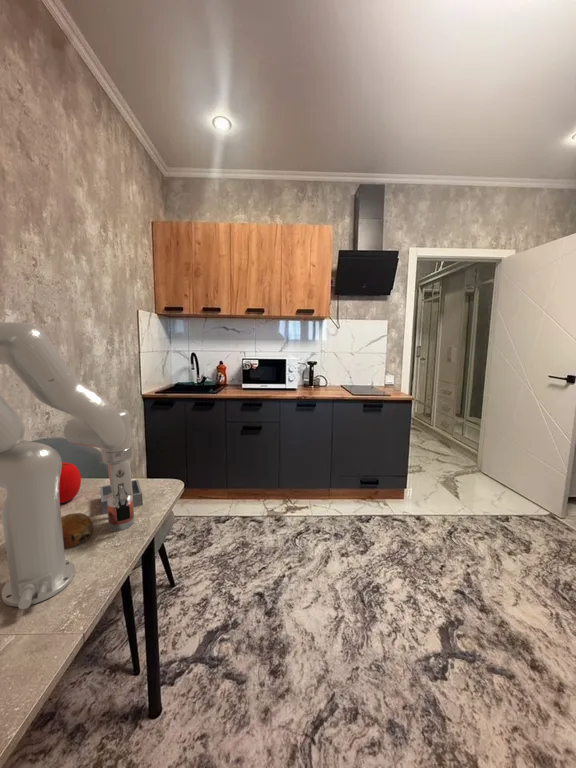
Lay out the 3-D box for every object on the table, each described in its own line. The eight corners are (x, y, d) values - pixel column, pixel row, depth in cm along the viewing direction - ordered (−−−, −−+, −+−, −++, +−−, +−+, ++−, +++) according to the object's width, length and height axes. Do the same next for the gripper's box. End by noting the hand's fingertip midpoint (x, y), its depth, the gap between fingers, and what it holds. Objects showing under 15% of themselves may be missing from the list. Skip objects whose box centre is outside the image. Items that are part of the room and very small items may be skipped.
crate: (142, 505, 104) (142, 493, 103) (102, 514, 98) (101, 502, 97) (138, 490, 113) (137, 479, 113) (101, 498, 107) (100, 486, 107)
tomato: (67, 510, 100) (63, 471, 98) (29, 509, 100) (24, 470, 98) (91, 491, 112) (88, 455, 110) (57, 490, 112) (54, 455, 110)
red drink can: (135, 527, 92) (133, 497, 91) (109, 533, 89) (107, 502, 87) (133, 515, 98) (131, 487, 96) (108, 522, 94) (106, 492, 93)
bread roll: (89, 536, 93) (83, 508, 94) (100, 536, 87) (94, 506, 88) (47, 553, 86) (41, 523, 87) (56, 554, 79) (49, 521, 80)
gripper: (136, 462, 85) (140, 522, 88) (129, 441, 99) (133, 494, 102) (103, 468, 81) (108, 531, 84) (100, 446, 95) (105, 500, 98)
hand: (122, 510), depth 93 cm, fingers open, 9 cm apart
